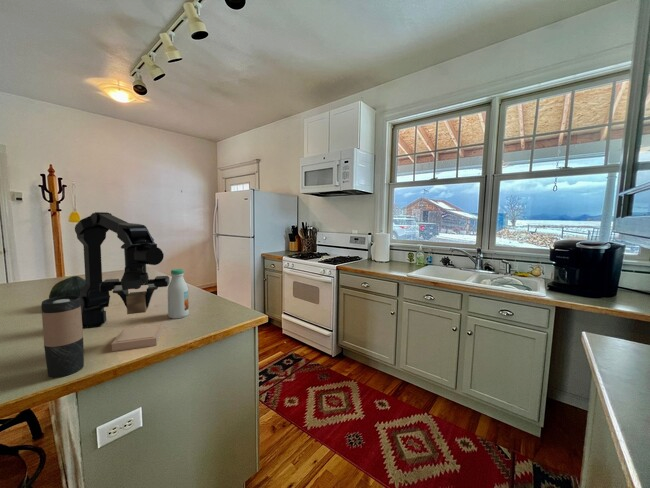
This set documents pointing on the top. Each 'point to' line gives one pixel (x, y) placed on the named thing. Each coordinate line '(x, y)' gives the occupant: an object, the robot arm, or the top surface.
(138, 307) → the walnut block
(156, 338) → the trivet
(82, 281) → the squash
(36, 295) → the top surface
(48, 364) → the travel mug
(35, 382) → the top surface
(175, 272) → the milk bottle
